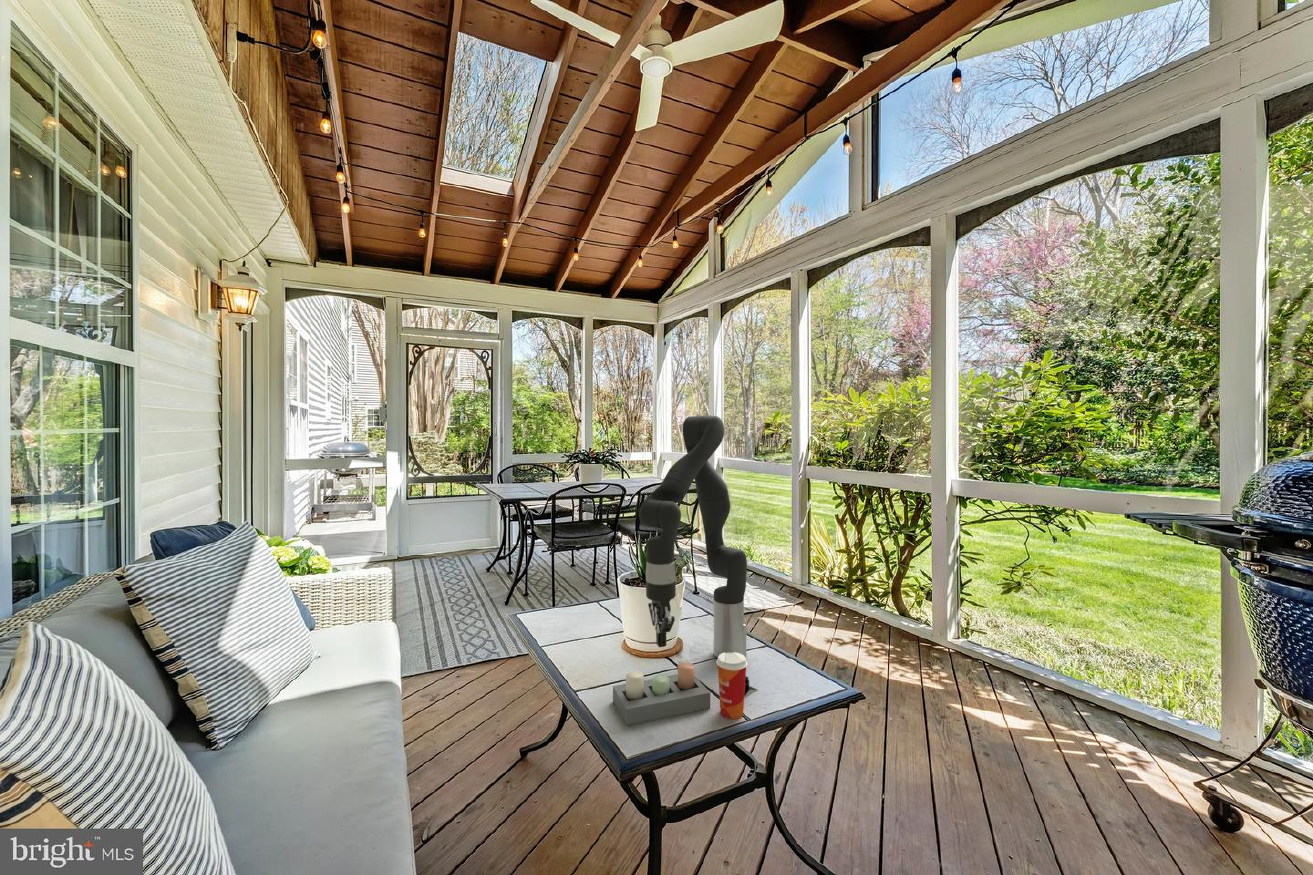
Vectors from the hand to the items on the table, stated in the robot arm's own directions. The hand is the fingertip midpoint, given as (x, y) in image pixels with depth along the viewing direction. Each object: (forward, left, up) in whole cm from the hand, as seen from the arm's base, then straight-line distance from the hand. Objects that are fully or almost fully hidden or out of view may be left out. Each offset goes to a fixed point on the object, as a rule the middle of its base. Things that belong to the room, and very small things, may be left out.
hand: (661, 645), depth 142 cm
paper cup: (-15, +10, -15) cm, 24 cm away
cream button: (+7, 0, -11) cm, 14 cm away
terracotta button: (-7, 0, -11) cm, 13 cm away
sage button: (0, 0, -14) cm, 14 cm away
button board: (0, 0, -15) cm, 15 cm away
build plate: (-22, +2, -16) cm, 27 cm away
